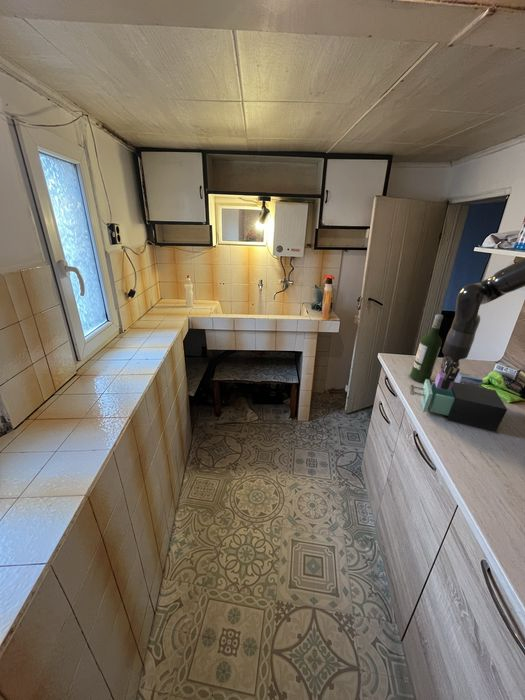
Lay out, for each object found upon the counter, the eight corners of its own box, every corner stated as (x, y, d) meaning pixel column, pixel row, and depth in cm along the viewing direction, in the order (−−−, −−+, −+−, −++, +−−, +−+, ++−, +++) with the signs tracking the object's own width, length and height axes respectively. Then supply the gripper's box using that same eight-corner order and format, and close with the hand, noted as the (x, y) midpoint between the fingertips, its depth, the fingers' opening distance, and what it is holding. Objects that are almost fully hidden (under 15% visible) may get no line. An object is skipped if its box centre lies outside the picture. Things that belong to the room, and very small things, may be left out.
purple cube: (448, 384, 104) (452, 374, 102) (450, 390, 100) (454, 380, 98) (434, 382, 105) (438, 371, 103) (436, 387, 101) (440, 377, 100)
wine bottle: (407, 373, 131) (425, 311, 118) (424, 374, 131) (444, 312, 118) (414, 382, 124) (434, 317, 111) (432, 383, 124) (455, 318, 111)
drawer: (407, 407, 105) (412, 389, 102) (406, 392, 115) (410, 375, 111) (465, 421, 99) (473, 403, 95) (459, 404, 108) (466, 387, 105)
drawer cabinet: (447, 420, 100) (455, 398, 96) (441, 401, 111) (449, 380, 107) (496, 432, 95) (507, 409, 91) (485, 411, 106) (495, 390, 102)
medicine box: (454, 394, 116) (461, 376, 112) (451, 389, 120) (457, 371, 116) (476, 398, 114) (483, 380, 110) (472, 393, 118) (479, 375, 114)
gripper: (476, 352, 88) (458, 398, 95) (466, 337, 100) (451, 378, 107) (449, 348, 90) (433, 392, 98) (442, 333, 102) (429, 374, 110)
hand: (443, 385), depth 102 cm, fingers closed on purple cube, 4 cm apart
